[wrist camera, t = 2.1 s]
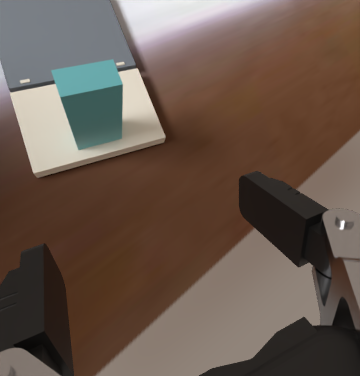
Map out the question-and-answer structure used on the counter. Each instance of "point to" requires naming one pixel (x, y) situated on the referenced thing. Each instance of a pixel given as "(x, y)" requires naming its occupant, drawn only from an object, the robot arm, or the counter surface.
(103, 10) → the board
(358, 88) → the counter surface
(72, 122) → the teal block on base
